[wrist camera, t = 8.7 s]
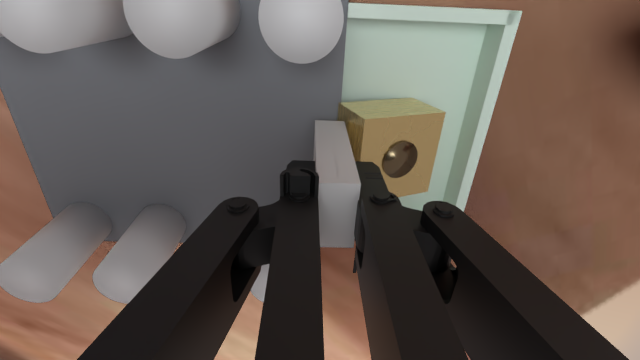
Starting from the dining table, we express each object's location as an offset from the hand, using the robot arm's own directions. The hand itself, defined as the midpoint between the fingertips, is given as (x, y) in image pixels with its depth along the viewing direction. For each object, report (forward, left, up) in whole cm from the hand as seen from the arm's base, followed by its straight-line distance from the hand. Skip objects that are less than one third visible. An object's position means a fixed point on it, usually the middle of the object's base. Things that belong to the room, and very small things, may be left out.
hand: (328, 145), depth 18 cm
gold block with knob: (+3, 0, -2) cm, 3 cm away
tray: (+5, 0, -3) cm, 5 cm away
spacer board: (-8, 0, -3) cm, 8 cm away
